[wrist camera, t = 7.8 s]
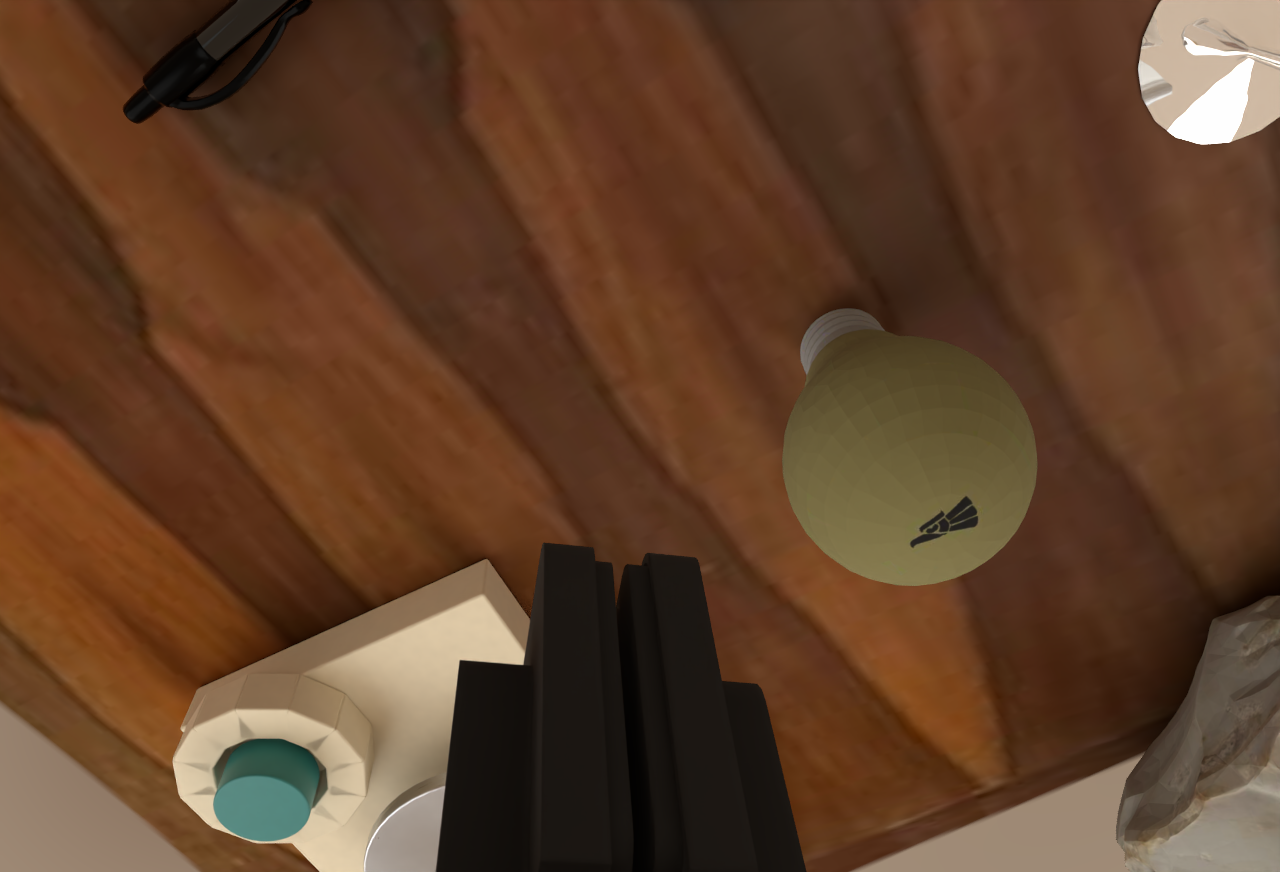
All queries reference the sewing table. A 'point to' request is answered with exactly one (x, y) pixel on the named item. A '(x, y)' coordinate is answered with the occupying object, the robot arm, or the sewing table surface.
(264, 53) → the pen
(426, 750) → the scale
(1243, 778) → the stone
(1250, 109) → the wineglass
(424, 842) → the weighing pan
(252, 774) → the button
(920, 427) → the light bulb
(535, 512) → the sewing table surface
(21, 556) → the sewing table surface
